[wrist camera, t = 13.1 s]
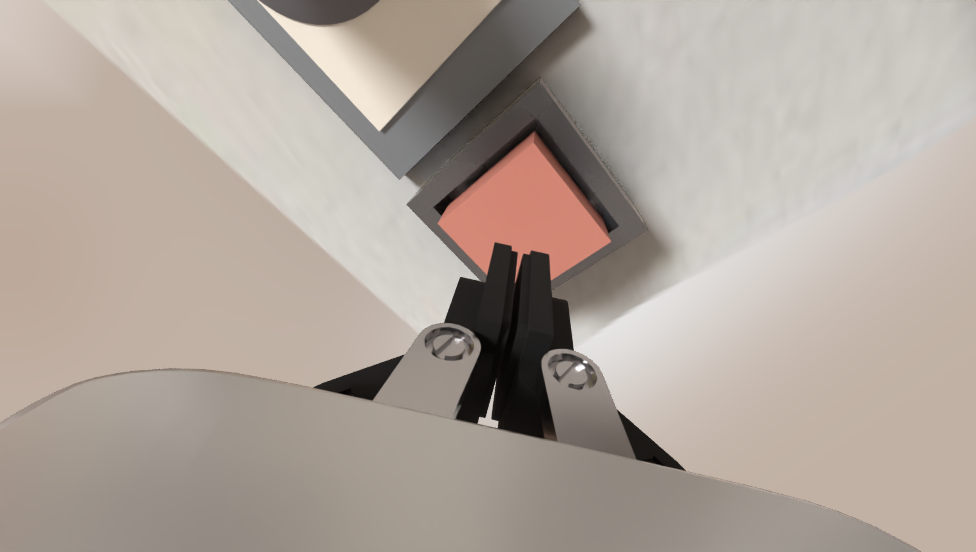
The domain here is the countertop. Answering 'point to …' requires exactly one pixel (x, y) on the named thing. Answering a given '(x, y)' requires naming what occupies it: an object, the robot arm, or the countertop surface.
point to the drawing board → (404, 60)
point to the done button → (526, 211)
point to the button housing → (569, 148)
